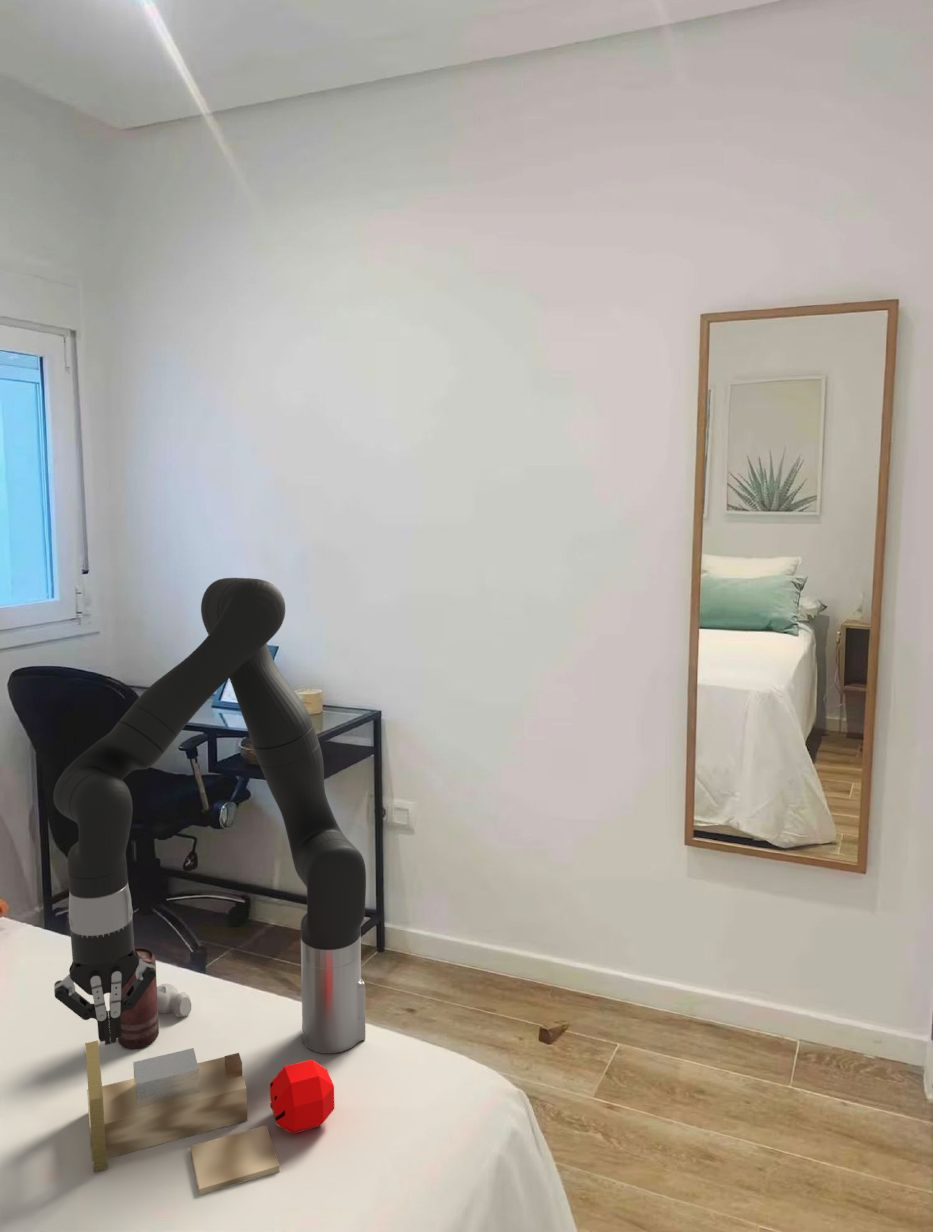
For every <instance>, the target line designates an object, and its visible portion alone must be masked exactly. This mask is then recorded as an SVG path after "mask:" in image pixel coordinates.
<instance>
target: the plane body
mask: <svg viewBox="0 0 933 1232" xmlns="http://www.w3.org/2000/svg"><path fill="white" fill-rule="evenodd" d="M197 1064H198V1068H199V1086H200V1093H196V1094H192V1095H188V1096H184V1097H180V1098H176V1099H172V1100H168V1101H164V1102H160V1103H156V1104H152V1105H148V1106H144V1107H140V1108H138V1106H137V1099H136V1092H135V1085H134V1078H130V1079H126V1080H122V1081H118V1082H114V1083H109V1084H106V1085H102V1092H103V1107H104V1124H105V1141H106V1158H107V1159H109V1158H112V1157H116V1156H120V1155H123V1154H128V1153H131V1152H134V1151H138V1150H143V1149H146V1148H150V1147H153V1146H154V1147H155V1146H157V1145H160V1144H161V1145H162V1144H165V1143H169V1142H172V1141H175V1140H179V1139H180V1140H181V1139H184V1138H187V1137H191V1136H196V1135H198V1134H202V1133H206V1132H209V1131H212V1130H217V1129H220V1128H225V1127H228V1126H232V1125H235V1124H239V1123H242V1122H246V1121H248V1099H247V1098H248V1096H247V1086H246V1083H245V1079H244V1076H243V1061H242V1058H241V1056H240V1053H239V1052H235V1053H231V1054H227V1055H225V1056H221V1057H218V1058H214V1059H209V1060H206V1061H205V1060H204V1061H201V1062H197ZM86 1091H87V1092H86V1093H87V1107H88V1108H87V1109H88V1110H87V1111H88V1124H89V1126H88V1127H89V1139H90V1141H89V1142H90V1143H89V1144H90V1153H91V1154H90V1155H91V1156H90V1157H91V1163H93V1153H92V1137H91V1121H90V1105H89V1090H88V1089H87V1090H86Z"/></svg>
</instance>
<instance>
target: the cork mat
mask: <svg viewBox="0 0 933 1232" xmlns="http://www.w3.org/2000/svg"><path fill="white" fill-rule="evenodd" d="M189 1147H190V1156H191V1161H192V1165H193V1166H192V1167H193V1170H194V1175H195V1180H196V1184H197V1190H198V1195H200V1196H201V1195H204V1194H208V1193H211V1192H214V1191H216V1190H220V1189H224V1188H227V1187H231V1186H235V1185H237V1184H240V1183H244V1182H248V1181H251V1180H255V1179H257V1178H261V1177H262V1178H263V1177H265V1176H269V1175H272V1174H275V1173H278V1172H281V1171H280V1170H281V1169H280V1167H281V1166H280V1163H279V1159H278V1157H277V1154H276V1150H275V1148H274V1145H273V1142H272V1139H271V1136H270V1133H269V1130H268V1126H267V1125H263V1126H260V1127H256V1128H252V1129H248V1130H245V1131H241V1132H237V1133H233V1134H230V1135H226V1136H223V1137H218V1138H216V1139H212V1140H209V1141H205V1142H201V1143H196V1144H193V1145H190V1146H189Z"/></svg>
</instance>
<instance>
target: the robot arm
mask: <svg viewBox="0 0 933 1232" xmlns="http://www.w3.org/2000/svg"><path fill="white" fill-rule="evenodd" d="M200 614H201V619H202V623H203V625H204V628H205V632H207V637H206V638H205V639H203V641H202V643H200V644H199V645H198V646H197V647H196V648H195V649H194V651H192V652H191V653H190V654H188V656H186V658H184V659H183V660H182V661H181V662H180V663H178V664H177V665H176V666H174V667H173V668H172V669H170V670H169V671H168V672H167V673H165V674H164V675H162V676H161V677H160V678H159V679H157V680H156V681H155V682H154V683H153V684H151V685H150V686H149V687H148V688H147V689H145V691H143V693H141V695H140V696H138V698H137V699H136V700H135V701H134V702H133V703H132V705H131V706H130V707H129V708H128V710H127V711H126V712H125V713H124V715H123V716H122V717H121V718H120V719H119V720H118V722H117V723H116V724H115V726H114V727H113V728H112V730H111V731H109V732H108V733H107V734H106V735H104V736H103V737H101V738H99V740H97V741H96V742H95V743H93V744H92V745H91V746H90V747H88V748H87V749H86V750H85V751H84V752H82V753H81V754H80V755H79V756H77V758H75V759H74V760H73V761H72V762H71V763H70V764H69V765H68V766H67V767H65V769H64V770H63V772H62V773H61V775H60V776H59V778H58V780H57V781H56V783H55V786H54V788H53V789H54V790H53V799H52V800H53V804H54V806H55V808H56V809H57V810H58V812H59V813H60V814H61V815H63V817H66V818H68V819H69V820H71V821H73V822H74V823H76V824H77V827H78V841H77V842H75V843H74V844H73V845H72V846H71V847H70V849H69V850H68V852H67V853H68V854H67V861H66V863H67V866H66V867H67V878H68V890H69V894H68V895H69V897H68V917H69V918H68V924H69V930H70V943H71V957H72V960H71V961H72V962H71V965H70V966H69V970H68V972H69V974H68V975H67V976H66V977H64V978H63V979H62V980H61V979H60V980H57V981H56V982H55V983H54V985H53V986H54V989H53V993H54V997H55V999H57V1000H58V1001H59V1002H60V1003H61V1004H63V1005H64V1006H65V1007H67V1008H68V1009H70V1010H71V1011H72V1012H73V1013H74V1014H76V1016H79V1018H81V1019H82V1020H83V1021H89V1020H90V1019H94V1020H96V1021H97V1034H98V1035H97V1036H98V1039H99V1041H100V1042H104V1045H105V1046H108V1045H112V1044H115V1043H117V1042H118V1038H119V1037H121V1034H122V1030H121V1014H122V1013H123V1012H124V1011H126V1010H131V1009H133V1008H134V1006H135V1005H136V1004H137V1002H138V1001H139V999H140V998H141V996H142V995H143V993H144V992H145V991H146V989H147V988H148V986H149V985H150V983H151V982H152V980H153V979H154V978H155V976H156V977H157V969H156V970H155V966H154V963H153V962H151V961H149V962H147V963H145V962H143V961H141V960H139V956H138V953H137V952H136V951H135V938H134V936H135V935H134V922H133V914H134V912H133V911H134V910H133V906H132V897H131V896H132V895H131V891H130V888H129V875H128V864H127V862H128V861H127V855H126V851H127V846H128V844H129V838H130V831H131V827H132V820H133V811H134V810H133V798H132V794H131V792H130V789H129V787H128V785H127V784H126V782H125V781H124V779H125V778H126V777H127V776H128V775H129V774H131V773H132V772H134V771H136V770H147V769H149V768H151V767H152V766H154V765H155V764H156V762H158V760H160V758H161V757H162V756H163V754H165V752H166V751H167V750H168V748H169V747H170V746H171V745H172V743H173V742H174V741H175V740H176V738H177V737H178V736H179V734H180V733H181V732H182V731H183V729H184V728H185V727H186V726H187V724H188V723H189V722H190V721H191V719H192V718H193V717H194V715H196V714H197V712H198V711H199V710H200V709H201V708H202V707H203V706H204V704H205V703H206V702H207V701H208V700H209V699H210V698H211V697H212V696H213V695H214V694H215V693H216V692H217V691H218V689H220V688H221V687H222V686H223V685H224V684H225V682H227V681H228V680H229V681H230V685H231V687H232V689H233V692H234V696H235V697H236V698H235V699H236V701H237V704H238V707H239V710H240V712H241V715H242V718H243V721H244V723H245V726H246V730H247V732H248V736H249V738H250V739H249V740H250V741H251V746H252V747H253V750H254V753H255V757H256V759H257V761H258V764H259V766H260V769H261V772H262V774H263V776H264V779H265V782H266V783H267V786H268V788H269V791H270V793H271V794H272V797H273V799H274V802H275V803H276V805H277V807H278V809H279V811H280V814H281V817H282V820H283V823H284V827H285V830H286V835H287V839H288V843H289V848H290V852H291V857H292V863H293V866H294V870H295V871H296V873H297V876H298V877H299V879H300V880H301V882H302V883H303V884H304V885H305V887H306V902H307V903H306V913H305V914H304V916H303V917H302V918H301V922H300V960H301V961H300V962H301V963H300V964H301V965H300V966H301V967H300V969H301V971H300V972H301V1016H302V1018H301V1019H302V1020H301V1022H302V1023H301V1031H302V1041H303V1043H304V1045H305V1047H307V1048H308V1049H309V1050H312V1051H313V1052H316V1053H321V1054H336V1053H341V1052H344V1051H347V1050H350V1049H351V1048H353V1047H354V1046H355V1045H357V1044H358V1043H359V1042H361V1041H365V1040H366V984H365V982H364V980H363V978H362V961H361V960H362V951H361V950H362V946H361V945H362V943H361V941H362V940H361V939H362V938H361V937H362V935H361V931H362V925H363V922H364V919H365V916H366V893H367V872H366V863H365V859H364V856H363V855H362V853H361V852H360V851H359V850H358V849H357V848H356V846H354V845H353V843H352V842H351V841H350V840H349V839H348V838H347V837H346V836H345V834H344V833H343V831H342V830H341V828H340V826H339V824H338V823H337V820H336V818H335V816H334V814H333V811H332V809H331V806H330V804H329V801H328V798H327V793H326V789H325V771H324V770H325V769H324V767H325V766H324V758H323V753H322V748H321V745H320V744H321V743H320V741H319V738H318V735H317V732H316V729H315V727H314V723H313V720H312V718H311V716H310V714H309V713H310V712H309V710H308V709H307V707H306V705H305V704H304V703H303V701H302V699H301V698H300V697H299V695H298V694H297V692H296V691H295V690H294V688H293V687H292V685H291V684H290V682H289V681H288V680H287V679H286V678H285V676H284V675H283V674H282V672H281V671H280V669H279V668H278V666H277V664H276V663H275V661H274V658H273V656H272V654H271V651H270V649H269V646H268V642H269V641H270V640H271V639H272V638H273V637H274V636H275V635H276V634H277V633H278V631H279V630H280V628H281V627H282V624H283V622H284V619H285V617H286V602H285V598H284V596H283V594H282V592H281V591H280V589H279V588H278V587H277V586H276V585H275V584H273V583H271V582H270V581H267V580H263V579H261V578H260V579H259V578H249V577H247V578H246V577H226V578H220V579H216V580H215V581H214V582H212V583H210V584H209V585H208V587H206V589H205V591H204V593H203V595H202V599H201V603H200ZM136 969H137V971H136V978H135V980H134V981H133V983H132V984H131V986H130V987H129V988H128V990H127V991H126V993H125V994H124V996H123V997H122V998H121V989H122V988H124V987H125V985H126V984H127V983H128V981H129V979H130V978H131V976H132V975H133V973H134V972H135V970H136ZM75 985H77V986H78V987H79V988H80V989H81V990H82V991H83V992H85V993H86V994H87V995H89V996H92V998H93V1003H91V1002H89V1001H88V999H86V998H85V997H84V996H82V995H81V994H80V993H78V992H77V991H76V986H75ZM105 994H109V996H108V997H109V1000H108V1001H109V1004H108V1005H109V1010H107V1006H106V1001H105Z"/></svg>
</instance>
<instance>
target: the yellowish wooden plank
mask: <svg viewBox="0 0 933 1232" xmlns="http://www.w3.org/2000/svg"><path fill="white" fill-rule="evenodd" d="M84 1046H85V1057H86V1060H85V1061H86V1072H87V1073H86V1074H87V1077H86V1078H87V1090H89V1105H90V1121H91V1137H92V1153H93V1162H92V1165H93V1166H92V1167H93V1173H95V1172H99V1171H103V1170H106V1169H108V1162H107V1161H108V1158H106V1141H105V1124H104V1107H103V1092H102V1086H103V1083H102V1072H101V1061H100V1049H99V1041H98V1040H94V1041H89V1042H85V1045H84Z"/></svg>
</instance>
